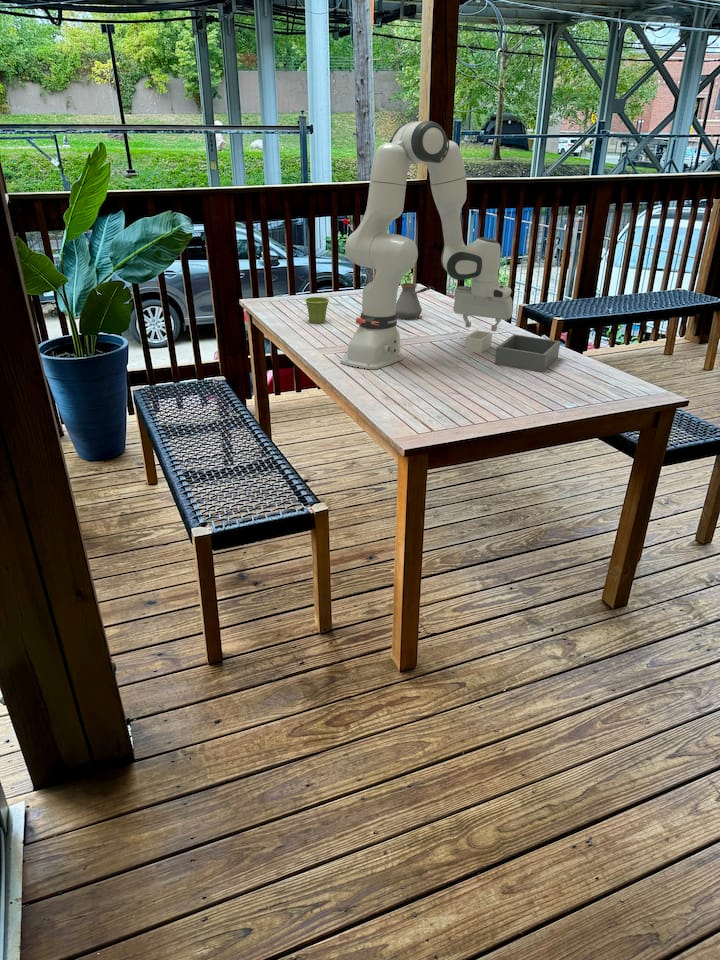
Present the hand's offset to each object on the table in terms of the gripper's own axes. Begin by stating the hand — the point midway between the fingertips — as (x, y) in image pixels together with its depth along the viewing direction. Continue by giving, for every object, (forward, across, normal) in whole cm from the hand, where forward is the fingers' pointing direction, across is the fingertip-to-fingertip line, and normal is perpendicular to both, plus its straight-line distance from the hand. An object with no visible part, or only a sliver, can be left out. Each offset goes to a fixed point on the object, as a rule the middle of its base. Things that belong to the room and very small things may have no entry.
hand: (480, 328), depth 226 cm
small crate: (+7, 0, -1) cm, 7 cm away
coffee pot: (+7, -36, +24) cm, 43 cm away
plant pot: (+6, -67, 0) cm, 67 cm away
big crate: (+7, +19, -7) cm, 21 cm away
